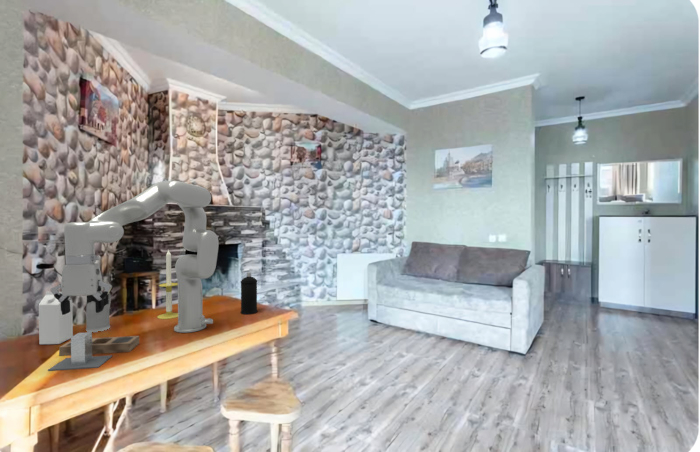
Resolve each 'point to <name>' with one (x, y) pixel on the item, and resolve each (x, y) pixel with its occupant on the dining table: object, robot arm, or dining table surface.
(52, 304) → the milk carton
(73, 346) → the grey rectangular block
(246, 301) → the aerosol can
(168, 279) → the candle
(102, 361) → the mat
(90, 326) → the glass holder
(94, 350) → the rail
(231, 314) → the dining table surface
